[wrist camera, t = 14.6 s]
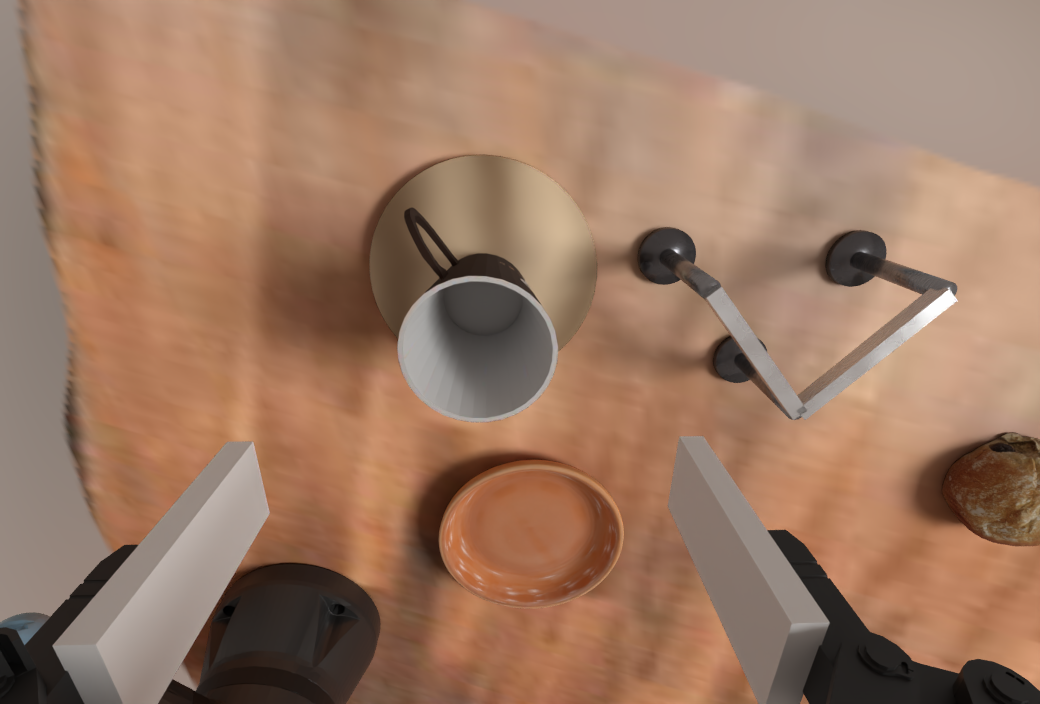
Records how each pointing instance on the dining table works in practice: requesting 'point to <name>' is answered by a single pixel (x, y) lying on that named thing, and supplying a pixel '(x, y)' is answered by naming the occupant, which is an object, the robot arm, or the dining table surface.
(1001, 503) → the bread roll
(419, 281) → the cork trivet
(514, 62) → the dining table surface
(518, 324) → the coffee mug
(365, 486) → the dining table surface
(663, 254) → the bent wire
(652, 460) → the dining table surface
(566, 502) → the saucer
